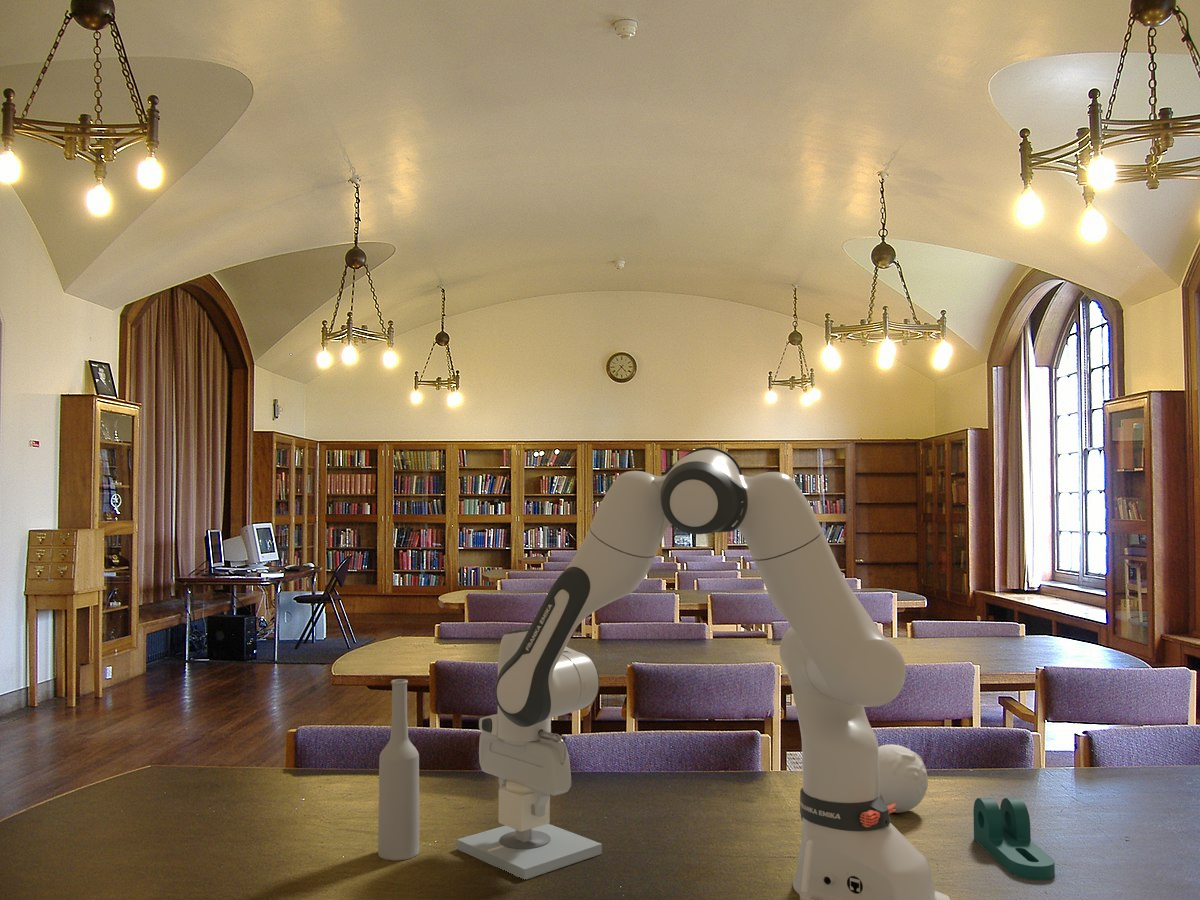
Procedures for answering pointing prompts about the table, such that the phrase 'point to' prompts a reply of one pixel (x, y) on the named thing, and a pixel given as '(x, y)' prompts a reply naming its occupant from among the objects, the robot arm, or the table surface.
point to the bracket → (1010, 838)
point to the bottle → (398, 786)
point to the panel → (529, 849)
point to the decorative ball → (901, 777)
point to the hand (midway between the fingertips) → (523, 810)
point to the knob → (520, 807)
